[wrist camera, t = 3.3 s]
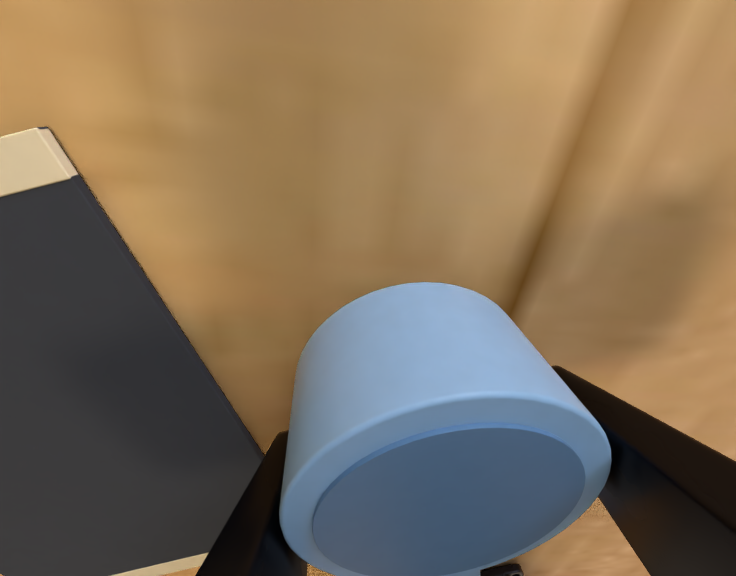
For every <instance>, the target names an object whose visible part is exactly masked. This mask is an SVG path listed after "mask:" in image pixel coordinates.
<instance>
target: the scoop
mask: <svg viewBox="0 0 736 576" xmlns="http://www.w3.org/2000/svg"><path fill="white" fill-rule="evenodd" d="M611 462H612V458H611V448H610V445H609V442H608V439H607V436H606V433H605V432H604V430H603V429H602V427H601V426H600V424H599V423H598V422H597V420H596V419H595V418H594V417H593V416H592V414H591V413H590V412H589V411H588V410H587V409H586V407H585V406H584V405H583V404H582V403H581V401H580V400H579V399H578V398H577V397H576V396H575V394H574V393H573V392H572V391H571V390H570V388H569V387H568V386H567V385H566V384H565V383H564V381H563V380H562V379H561V378H560V377H559V375H558V374H557V373H556V372H555V371H554V370H553V368H552V367H551V366H550V365H549V364H548V362H547V361H546V360H545V359H544V358H543V357H542V355H541V354H540V353H539V352H538V351H537V349H536V348H535V347H534V346H533V345H532V344H531V342H530V341H529V340H528V339H527V338H526V336H525V335H524V334H523V333H522V332H521V330H520V329H519V328H518V327H517V326H516V325H515V323H514V322H513V321H512V320H511V319H510V317H509V316H508V315H507V314H506V313H505V312H504V311H503V310H502V309H501V308H500V307H499V306H498V305H497V304H496V303H494V302H493V301H491V300H490V299H488V298H487V297H485V296H483V295H481V294H479V293H477V292H475V291H473V290H470V289H466V288H463V287H460V286H457V285H451V284H445V283H436V282H417V283H405V284H400V285H395V286H389V287H386V288H383V289H380V290H376V291H373V292H371V293H368V294H366V295H364V296H362V297H359V298H357V299H355V300H353V301H352V302H350V303H348V304H347V305H345V306H343V307H342V308H340V309H339V310H338V311H336V312H335V313H334V314H332V315H331V316H330V317H329V318H328V319H327V320H326V321H325V322H324V323H322V324H321V325H320V326H319V327H318V328H317V330H316V331H315V332H314V334H313V335H312V336H311V338H310V339H309V340H308V342H307V344H306V345H305V347H304V349H303V351H302V353H301V356H300V358H299V361H298V364H297V369H296V375H295V382H294V391H293V399H292V407H291V416H290V424H289V432H288V441H287V449H286V458H285V466H284V474H283V483H282V491H281V500H280V508H279V518H280V526H281V529H282V532H283V536H284V538H285V540H286V542H287V543H288V545H289V547H290V548H291V549H292V550H293V551H294V552H295V553H296V554H297V555H298V557H300V558H301V559H303V560H304V561H305V562H307V563H308V564H310V565H312V566H314V567H316V568H318V569H319V570H322V571H324V572H327V573H330V574H333V575H336V576H480V570H482V569H485V568H488V567H491V566H494V565H497V564H500V563H502V562H505V561H508V560H510V559H512V558H515V557H517V556H519V555H522V554H524V553H526V552H528V551H530V550H532V549H534V548H536V547H537V546H539V545H541V544H543V543H544V542H546V541H548V540H549V539H551V538H553V537H554V536H556V535H557V534H558V533H560V532H561V531H563V530H564V529H566V528H567V527H568V526H569V525H571V524H572V523H573V522H574V521H575V520H577V519H578V518H579V517H580V516H581V515H582V514H583V513H584V512H585V511H586V510H587V509H588V508H589V507H590V506H591V504H592V503H593V502H594V501H595V499H596V498H597V497H598V496H599V494H600V492H601V491H602V489H603V487H604V486H605V483H606V481H607V478H608V476H609V473H610V468H611Z"/></svg>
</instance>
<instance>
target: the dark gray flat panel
mask: <svg viewBox="0 0 736 576" xmlns="http://www.w3.org/2000/svg"><path fill="white" fill-rule="evenodd" d="M264 457H265V456H264V455H263V453H262V452H261V450H260V449H259V447H258V446H257V444H256V443H255V441H254V440H253V438H252V437H251V435H250V434H249V432H248V431H247V429H246V428H245V426H244V425H243V423H242V422H241V420H240V418H239V417H238V415H237V414H236V412H235V411H234V409H233V408H232V406H231V405H230V403H229V402H228V400H227V399H226V397H225V396H224V394H223V393H222V391H221V390H220V388H219V387H218V385H217V384H216V382H215V380H214V379H213V377H212V376H211V374H210V373H209V371H208V370H207V368H206V367H205V365H204V364H203V362H202V361H201V359H200V358H199V356H198V355H197V353H196V352H195V350H194V349H193V347H192V346H191V344H190V342H189V341H188V339H187V338H186V336H185V335H184V333H183V332H182V330H181V329H180V327H179V326H178V324H177V323H176V321H175V320H174V318H173V317H172V315H171V314H170V312H169V311H168V309H167V308H166V306H165V304H164V303H163V301H162V300H161V298H160V297H159V295H158V294H157V292H156V291H155V289H154V288H153V286H152V285H151V283H150V282H149V280H148V279H147V277H146V276H145V274H144V273H143V271H142V269H141V268H140V266H139V265H138V263H137V262H136V260H135V259H134V257H133V256H132V254H131V253H130V251H129V250H128V248H127V247H126V245H125V244H124V242H123V241H122V239H121V238H120V236H119V235H118V233H117V231H116V230H115V228H114V227H113V225H112V224H111V222H110V221H109V219H108V218H107V216H106V215H105V213H104V212H103V210H102V209H101V207H100V206H99V204H98V203H97V201H96V200H95V198H94V197H93V195H92V193H91V192H90V190H89V189H88V187H87V186H86V184H85V183H84V181H83V180H82V178H81V177H80V175H79V174H78V172H77V171H76V169H75V168H74V166H73V165H72V163H71V162H70V160H69V159H68V157H67V155H66V154H65V152H64V151H63V149H62V148H61V146H60V145H59V143H58V142H57V140H56V139H55V137H54V136H53V134H52V133H51V131H50V130H49V128H48V127H37V128H32V129H28V130H24V131H21V132H17V133H13V134H9V135H5V136H2V137H0V574H2V575H4V576H160V575H165V574H169V573H173V572H177V571H182V570H186V569H190V568H194V567H199V566H201V565H202V563H203V562H204V560H205V558H206V557H207V555H208V553H209V551H210V550H211V548H212V546H213V544H214V543H215V541H216V539H217V538H218V536H219V534H220V532H221V531H222V529H223V527H224V525H225V524H226V522H227V520H228V519H229V517H230V515H231V513H232V512H233V510H234V508H235V507H236V505H237V503H238V501H239V500H240V498H241V496H242V494H243V493H244V491H245V489H246V488H247V486H248V484H249V482H250V481H251V479H252V477H253V475H254V474H255V472H256V470H257V469H258V467H259V465H260V463H261V462H262V460H263V458H264Z"/></svg>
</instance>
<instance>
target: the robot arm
mask: <svg viewBox="0 0 736 576" xmlns="http://www.w3.org/2000/svg"><path fill="white" fill-rule="evenodd" d="M551 367H552V368H553V370H554V371H555V372H556V373H557V374H558V375H559V377H560V378H561V379H562V380H563V381H564V383H565V384H566V385H567V386H568V387H569V388H570V390H571V391H572V392H573V393H574V394H575V396H576V397H577V398H578V399H579V400H580V401H581V403H582V404H583V405H584V406H585V407H586V409H587V410H588V411H589V412H590V413H591V414H592V416H593V417H594V418H595V419H596V420H597V422H598V423H599V424H600V426H601V427H602V429H603V430H604V432H605V433H606V436H607V439H608V442H609V445H610V448H611V458H612V462H611V468H610V473H609V476H608V478H607V481H606V483H605V486H604V487H603V489H602V491H601V492H600V494H599V496H598V497H599V499H600V500H601V502H602V503H603V505H604V506H605V508H606V509H607V511H608V512H609V514H610V515H611V517H612V518H613V520H614V521H615V523H616V524H617V526H618V527H619V529H620V530H621V532H622V533H623V535H624V536H625V538H626V539H627V541H628V542H629V544H630V545H631V547H632V548H633V550H634V551H635V553H636V554H637V556H638V557H639V559H640V560H641V562H642V563H643V565H644V566H645V568H646V569H647V571H648V572H649V574H650V575H651V576H736V461H734V460H732V459H730V458H728V457H726V456H725V455H723V454H721V453H719V452H717V451H715V450H713V449H712V448H710V447H708V446H706V445H704V444H702V443H701V442H699V441H697V440H695V439H693V438H691V437H689V436H688V435H686V434H684V433H682V432H680V431H678V430H676V429H675V428H673V427H671V426H669V425H667V424H665V423H664V422H662V421H660V420H658V419H656V418H654V417H652V416H651V415H649V414H647V413H645V412H643V411H641V410H639V409H638V408H636V407H634V406H632V405H630V404H628V403H627V402H625V401H623V400H621V399H619V398H617V397H615V396H614V395H612V394H610V393H608V392H606V391H604V390H602V389H601V388H599V387H597V386H595V385H593V384H591V383H590V382H588V381H586V380H584V379H582V378H580V377H578V376H577V375H575V374H573V373H571V372H569V371H567V370H565V369H564V368H562V367H560V366H551ZM288 432H289V430H286V431H282V432H280V433H278V435H277V436H276V438H275V439H274V441H273V443H272V444H271V446H270V448H269V450H268V451H267V453H266V455H265V457H264V458H263V460H262V462H261V463H260V465H259V467H258V469H257V470H256V472H255V474H254V475H253V477H252V479H251V481H250V482H249V484H248V486H247V488H246V489H245V491H244V493H243V494H242V496H241V498H240V500H239V501H238V503H237V505H236V507H235V508H234V510H233V512H232V513H231V515H230V517H229V519H228V520H227V522H226V524H225V525H224V527H223V529H222V531H221V532H220V534H219V536H218V538H217V539H216V541H215V543H214V544H213V546H212V548H211V550H210V551H209V553H208V555H207V557H206V558H205V560H204V562H203V563H202V565H201V567H200V569H199V570H198V572H197V574H196V575H195V576H307V564H308V563H307V562H305V561H304V560H303V559H301V558H300V557H298V555H297V554H296V553H295V552H294V551H293V550H292V549H291V548H290V547H289V545H288V543H287V542H286V540H285V538H284V536H283V532H282V529H281V526H280V518H279V508H280V500H281V491H282V483H283V474H284V466H285V458H286V449H287V441H288ZM480 576H524V574H523V571H522V569H521V566H520V565H519V564H512V565H507V566H503V567H499V568H494V569H490V570H486V571H481V572H480Z"/></svg>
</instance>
